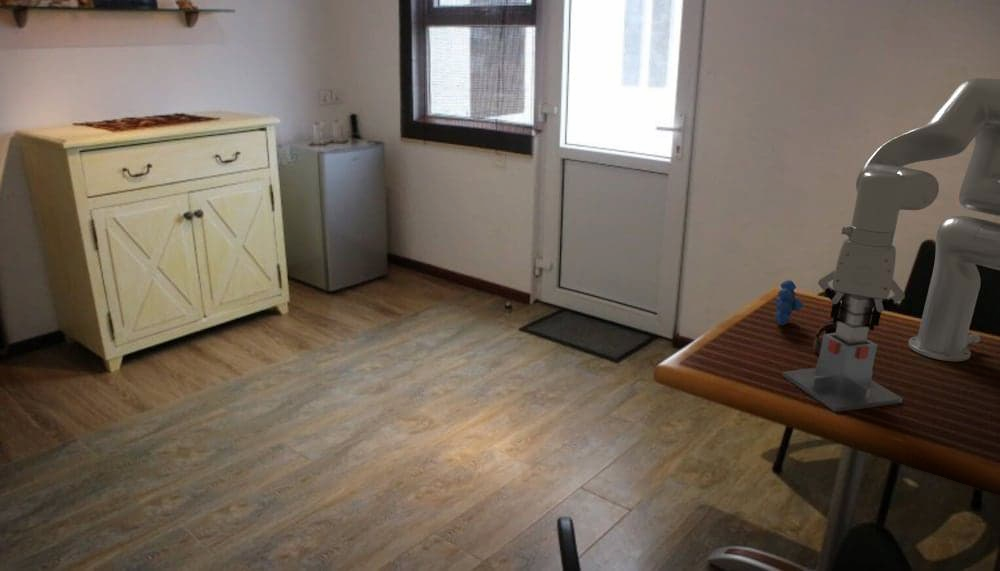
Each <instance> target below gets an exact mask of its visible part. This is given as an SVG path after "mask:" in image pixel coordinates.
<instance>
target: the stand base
mask: <svg viewBox="0 0 1000 571" xmlns="http://www.w3.org/2000/svg"><path fill="white" fill-rule="evenodd" d="M821 340H822V345H821V350H820V352H819V356H818V359H817V362H816V366H815V367H814V368H813V367H811V368H802V369H795V370H794V369H793V370H788V371H782V372H781V373H782V374H781V377H782V378H784V377H785V380H787V381H789V382H790V383H792V384H793V383H794V384H795V385H794V384H793V385H794V386H796V387H797V386H798V387H797V388H798V389H800V388H801V389H800V390H802V391H803V392H805V393H806V394H807V395H809V396H811V397H812V398H814V399H815V400H817V401H818V402H819V401H820V402H819V403H821V404H822V403H823V404H822V405H824V406H825V407H827V408H828V409H830V410H831V411H832V412H834V413H840V412H845V411H846V412H847V411H853V410H860V409H868V408H875V407H881V406H883V407H884V406H890V405H897V404H902V403H903V399H904V398H903V397H901V396H899V395H898V394H896V393H894V392H893V391H891V390H889V389H887V387H884V386H883V385H881V384H879V383H877V382H875V380H872V378H873V374H874V371H873V367H874V363H875V357H876V353H877V349H878V344H877V343H875V342H873V341H871V340H869V339H866V344H863V345H854V346H848V345H846V344H844V343H842V342H841V341H839V340H837V339H835V333H830V334H826V333H823V336H822V339H821Z"/></svg>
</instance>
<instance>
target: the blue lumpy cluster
mask: <svg viewBox="0 0 1000 571" xmlns="http://www.w3.org/2000/svg"><path fill="white" fill-rule="evenodd" d="M780 287H781V289H780V290H779V291H778V292H777V294H778V295H777V296H778V297H777V298H776V299H775V300H774V302H775V305H774V306H775V308H776V309H777V312H776V313H774V317H775V318H774V319H775V321H776V322H777V324H778V325H779V326H785V325H786V324H788V323H789V322H790V320H789V319H790V318H792V315H791V314H792V313H793V312H794V311H799V310H802V308H803V307H804V306H805V305H804V304H803V302H802V300H801V299H799V298H796V296H797V294H796V292H795V289H797V286H796V283H795V282H793V280H789V279H788V280H785V281H783V282H782V283H781V284H780Z"/></svg>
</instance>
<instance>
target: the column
mask: <svg viewBox="0 0 1000 571" xmlns="http://www.w3.org/2000/svg"><path fill="white" fill-rule="evenodd" d="M874 304H875V301H874V299H873V298H867V297H861V296H860V295H858V296H855V295H849V294H844V295H843V296H842V297H841V306H840V311H839V316H838V320H837V328H836V333H835V339H837V340H839V341H841V342H842V343H844V344H846V345H848V346H854V345H863V344H866V339H867V338H868V335H869V334H868V333H869V330H870V329H869V328H870V323H871V318H872V314H873V309H874V307H875V305H874ZM867 340H868V339H867Z"/></svg>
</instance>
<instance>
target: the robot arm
mask: <svg viewBox="0 0 1000 571" xmlns="http://www.w3.org/2000/svg"><path fill="white" fill-rule="evenodd" d="M973 140H974V147H973V150H972V153H971V157H970V160H969V163H968V166H967V169H966V171H965V174H964V177H963V180H962V184H961V186H960V190H959V193H958V200H959V204H960V205H961V206H962V207H963V208H965V209H968V210H970V211H973V212H976V213H981V214H985V215H991V216H996V217H1000V78H999V79H998V78H989V77H988V78H986V77H979V78H977V77H976V78H975V77H974V78H970V79H967V80H966V81H964V82H962V83H961V84H959V85H958V86H957V88H956V89H955V90H953V92H952V93H951V95H950V96H949V97H948V98H947V99H946V100H945V101H944V102H943V103H942V105H941V106H940V108H939V109H938V110H937V111H936V113H935V114H934V115H933V116H932V117H931V118H930V119H929V121H928V122H927V123H926V124H924V125H923V126H919V127H917V128H914V129H911V130H909V131H907V132H905V133H902V134H900V135H898V136H896V137H894V138H892V139H889V140H888V141H886V142H885V143H883V144H882V145H881V146H879V147H878V149H877V150H875V151H874V153H872V155H871V156H870V158H869V159H868V160H867V161H866V163H865V164H864V165H863V166H862V168H861V169H860V171H859V173H858V175H857V177H856V180H855V181H856V182H855V190H856V192H857V195H856V199H855V205H854V210H853V216H852V220H851V221H852V222H851V225H849V226H847V227H845V226H843V227H842V229H841V230H842V231H841V235H845V236H847V237H848V238H847V239H844V241H843V242H842V245H841V248H840V250H839V254H838V257H837V260H836V261H837V262H836V263H835V264H836V265H835V269H834V270H832V271H830V272H829V273H828V274H826V275H825V276H823V277H821V278H820V279H819V280H818V281H817V284H818V286H819V287H820V288H821V289H822V290H823V292H824V294H825V295H826V296H827V297H828V299H829V300H830V301H831V303H832V306H831V311H830V316H829V317H830V318H832V320H833V323H834V324H836V323H838V318H839V313H840V306H841V303H842V298H843V295H844V294H849V295H855V296H858V295H860V296H861V297H867V298H873V299H874V304H875V305H874V307H873V311H872V312H873V314H872V315H871V320H870V327H869V330H870V331H872V332H873V331H874V329H875V327H879V325H880V319H881V314H882V313H883V311H884V310H886V309H888V308H890V307H892V306H893V305H895V304H896V303H898V302H900V301H902V300H904V299H905V296H906V295H905V292H904V291H903V290H902V289H901V288H900V285H898V283H897V282H896V281H895V280H894V275H895V266H896V257H897V256H896V254H897V253H896V252H897V251H896V246H895V245H893V242H894V237H895V234H896V228H897V224H898V220H899V215H900V211H902V210H903V211H921V210H924V209H927V208H928V207H930V206H931V205H932V204H933V203H934V202H935V200H936V199H937V197H938V195H939V192H940V186H939V182H938V179H937V178H936V177H935V176H934V175H933V174H931V173H930V172H928V171H924V170H920V169H913V168H909V167H904V166H907V165H911V164H914V163H915V164H916V163H919V162H925V161H934V160H939V159H945V158H949V157H954V156H956V155H958V154H959V155H960V154H961V153H963V152H964V151H965V150H966V149H967V148H968V146H969V145H970V144H971V142H973ZM977 266H980V267H981V266H983V267H984V268H985V267H986V268H989V269H994V270H998V271H1000V223H999V222H995V221H991V220H988V219H982V218H978V217H972V216H966V215H954V216H950V217H947V218H946V219H944V220H943V221H942V222H941V223H940V225H939V226H938V229H937V230H936V237H935V256H934V265H933V270H932V275H931V278H930V283H929V286H928V292H927V296H926V299H925V304H924V307H923V308H924V309H923V313H922V317H921V321H920V323H919V324H920V325H919V328H918V334H917V335H915V336H912V337H910V338H909V339H908V345H907V346H908V347H909V348H910V349H911V350H912V351H914V352H915V353H917V354H919V355H922V356H924V357H928V358H931V359H934V360H938V361H944V362H964V361H967V360H969V359H970V357H971V353H972V352H971V350H970V348H968V345H970V344H972V343H979V342H980V341H981V336H980V335H979V334H978V333H972V334H971V333H970V334H969V331H970V326H971V323H972V319H973V315H974V312H975V307H976V304H977V299H978V296H979V292H980V288H981V281H982V280H981V275H980V272H979V270H978V267H977ZM831 281H832V285H831V286H832V287H831V286H830V284H829V283H830V282H831ZM891 291H892V293H893V295H892V296H890V294H891Z"/></svg>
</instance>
